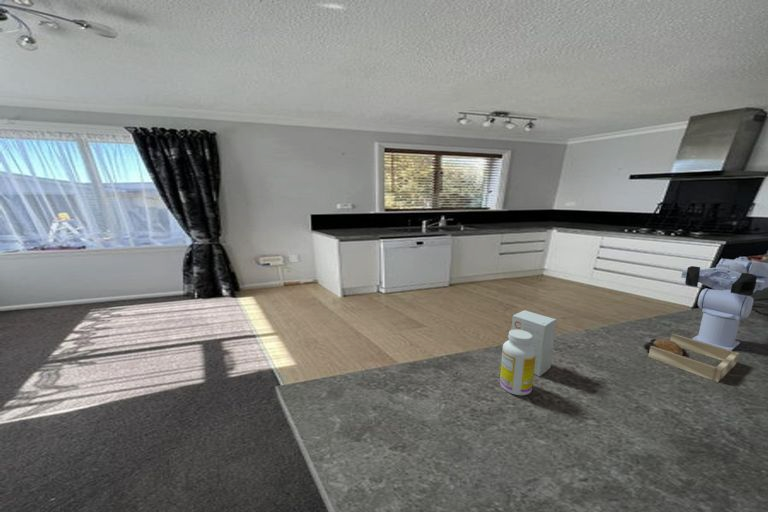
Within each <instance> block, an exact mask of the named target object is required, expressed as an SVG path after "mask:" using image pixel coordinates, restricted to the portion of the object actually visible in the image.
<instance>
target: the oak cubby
mask: <svg viewBox="0 0 768 512" xmlns="http://www.w3.org/2000/svg"><path fill="white" fill-rule="evenodd" d="M670 341H673V342H675V343H676V344H678V345H679V346H680V347H681V348H682V349H684V350H687V351H691V352H693V353H697V354H700V355H703V356H707V357H709V358H712V359H715V360H719V361H721V362H720V363H719V364H718V365H717V366H713V365H710V364H708V363H704V362H701V361H699V360H696V359H692V358H690V357H687V356H681V355H678V354H675V353H672V352H669V351H666V350H663V349H660V348H657V347H654V346H651V347H650V351H649V353H648V358H650V359H653V360H656V361H658V362H661V363H663V364H666V365H670V366H672V367H674V368H677V369H681V370H683V371H686V372H689V373H692V374H694V375H696V376H700V377H701V378H702V377H703V378H705V379H708V380H710V381H713V382H715V383H719V382H720V381H721V380H722V379H723V378H724V377H725V376H726V375H727V374H728V373H729V372H730V371H731V370H732V369H733V368H734V367H735V366H736V365H737V362H738V360H739V355H740V353H739V352H736V351H733V350H732V351H730V350H727V349H723V348H720V347H716V346H713V345H710V344H706V343H703V342H700V341H696V340H693V338H688V337H685V336H683V335H682V336H681V335H680V334H679V335H678V334H675V333H672V334H671V336H670Z"/></svg>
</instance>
